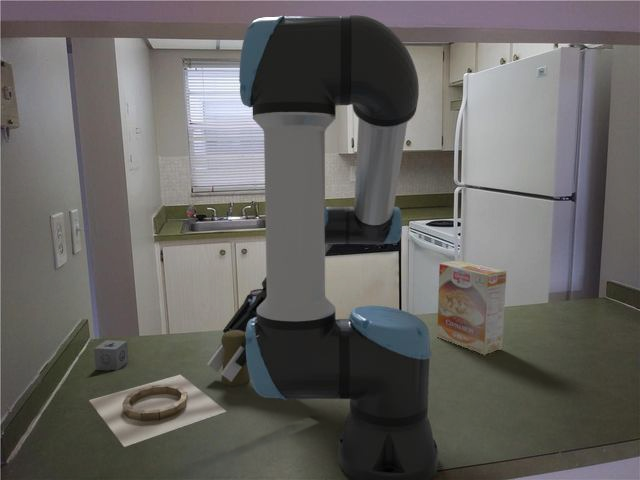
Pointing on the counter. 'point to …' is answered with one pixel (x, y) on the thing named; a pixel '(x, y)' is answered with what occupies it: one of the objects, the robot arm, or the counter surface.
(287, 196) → the robot arm
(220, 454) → the counter surface
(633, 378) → the counter surface
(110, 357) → the dice cube
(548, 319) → the counter surface
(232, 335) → the cork
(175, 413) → the collar
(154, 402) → the board
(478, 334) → the coffeecake box
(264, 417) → the counter surface
